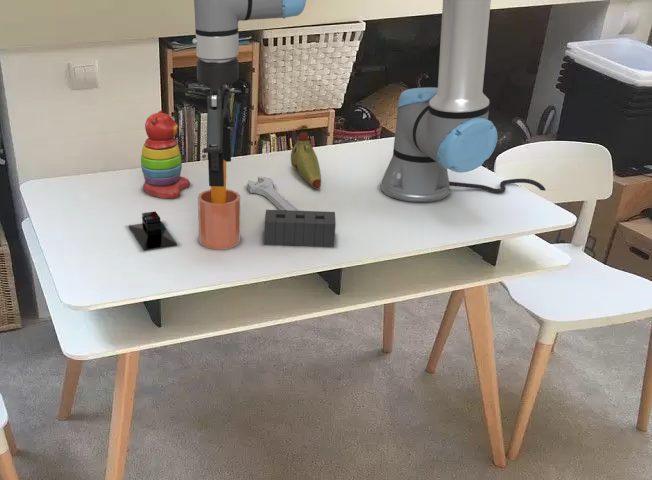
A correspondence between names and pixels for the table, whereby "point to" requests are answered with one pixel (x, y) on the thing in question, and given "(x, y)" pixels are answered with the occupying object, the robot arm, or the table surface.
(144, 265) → the table surface
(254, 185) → the adjustable wrench
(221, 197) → the orange round dowel
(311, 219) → the holder
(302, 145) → the olive green tapered piece
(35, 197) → the table surface
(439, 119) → the robot arm
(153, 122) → the stacking bear
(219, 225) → the pen cup
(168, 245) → the build plate
